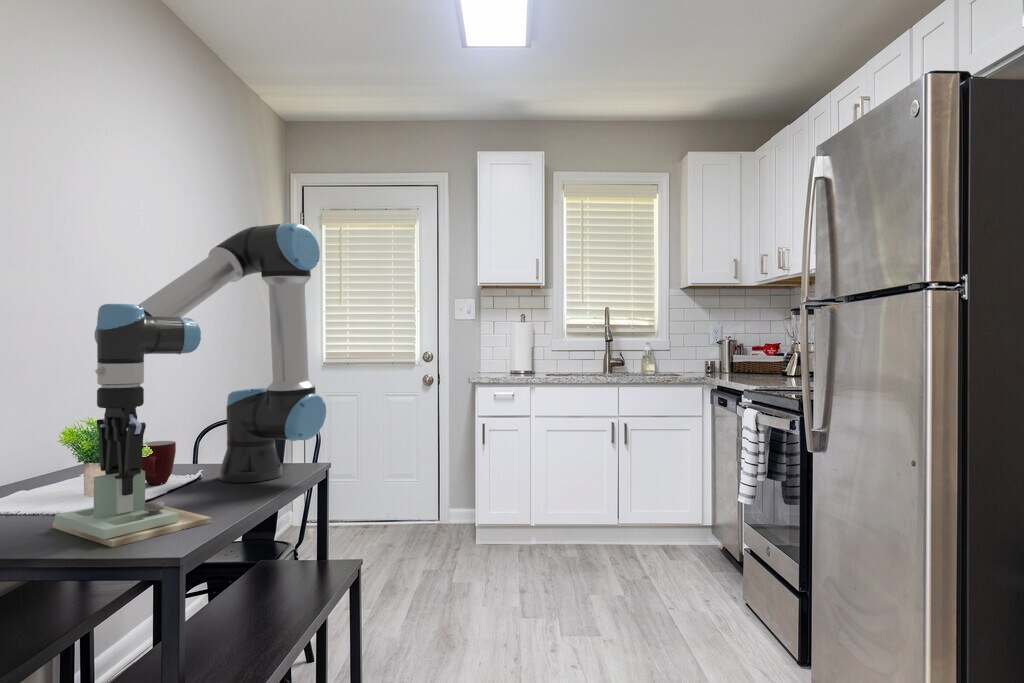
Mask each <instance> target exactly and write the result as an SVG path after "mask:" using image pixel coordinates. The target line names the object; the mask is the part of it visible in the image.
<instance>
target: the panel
mask: <svg viewBox="0 0 1024 683" xmlns="http://www.w3.org/2000/svg"><path fill="white" fill-rule="evenodd" d="M118 475H119V473H115V474H109V475H106V474H103V475H97V476H93V506H92V507H88V508H86V507H85V508H82V509H77V510H71V511H68V512H67V511H66V512H61V513H58V514H57V513H56V514H54V522H55V524H58V525H62V526H65V527H68V528H71V529H74V530H77V531H80V532H83V533H86V534H89V535H93V536H96V537H99V538H102V539H108V538H113V537H117V536H121V535H125V534H129V533H133V532H137V531H142V530H146V529H150V528H154V527H158V526H162V525H167V524H171V523H175V522H179V513H176V512H172V511H168V510H164V509H162V510H160V514H158V515H154V516H149V511H145V510H144V504H145V503H146V480H145V471H142V470H141V473H140V474H137V475H135V476H134V477H133V511H130V512H125V513H120V514H116V479H115V476H118Z"/></svg>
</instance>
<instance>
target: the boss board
mask: <svg viewBox="0 0 1024 683" xmlns="http://www.w3.org/2000/svg"><path fill="white" fill-rule="evenodd" d="M162 509H164V510H168V511H172V512H176V513H179V522H175V523H171V524H167V525H162V526H158V527H154V528H150V529H146V530H142V531H137V532H133V533H129V534H125V535H121V536H117V537H113V538H108V539H102V538H99V537H96V536H93V535H89V534H86V533H83V532H80V531H77V530H74V529H71V528H68V527H65V526H62V525H58V524H55V521H53V522H52V528H53V529H56V530H59V531H62V532H63V533H64V532H65V533H68V534H71V535H74V536H76V537H80V538H83V539H87V540H89V541H91V542H95V543H98V544H100V545H101V544H102V545H104V546H107V547H110V548H115V547H119V546H124V545H127V544H131V543H136V542H139V541H143V540H147V539H151V538H156V537H160V536H163V535H167V534H172V533H175V532H179V531H183V529H184V530H188V529H191V528H196V527H199V526H203V525H207V524H211V523H212V517H210V516H206V515H202V514H198V513H194V512H191V511H186V510H183V509H178V508H174V507H169V506H166V505H165V502H164V501H152V502H145V504H144V510H145V511H149V516H154V515H158V514H160V510H162ZM187 528H188V529H187Z"/></svg>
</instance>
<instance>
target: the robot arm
mask: <svg viewBox="0 0 1024 683" xmlns="http://www.w3.org/2000/svg"><path fill="white" fill-rule="evenodd" d="M320 257H321V249H320V245H319V242H318V240H317V238H316V236H315V234H314V233H313V232H312V231H311V230H310V228H308V227H307V226H306V225H303V224H302V223H298V222H294V223H292V222H286V223H285V222H283V223H276V224H267V225H256V226H255V225H254V226H250V227H248V228H247V227H246V228H245V229H243V230H241V231H238V232H236V233H235V234H233V235H232V236H230V237H228V238H227V239H224V240H223V241H222V242H220V243H219V244H218V245H216V246H214V247H212V249H210V251H209V253H208V256H207V257H206V258H204V259H203V260H201V261H200V262H199V263H197V264H195V265H194V266H193V267H191V268H190V269H189V270H187V271H186V272H183V274H181V275H180V276H178V277H177V278H175V279H174V280H172V281H171V282H170V283H168V284H166V285H165V286H164V287H162V288H160V290H158V291H156V292H155V293H154V294H152V295H150V296H149V297H148V298H146V299H145V300H143V301H142V302H140V303H139V304H131V303H105V304H102V305H100V306H99V308H98V311H97V316H96V317H97V318H96V320H97V321H96V326H95V327H96V328H95V329H94V330H95V331H94V340H95V343H96V344H97V346H96V347H97V349H96V351H97V352H96V354H97V355H96V357H97V358H96V359H97V366H96V367H97V368H96V369H95V371H94V372H95V374H97V378H96V379H97V380H96V381H97V385H99V386H100V387H98V389H96V406H97V407H98V408H100V409H105V411H104V418H100V419H96V422H95V423H96V428H97V433H98V449H99V464H100V466H99V468H100V471H101V472H104V473H105V474H104V475H109V474H115V473H119V475H118V476H115V479H116V514H120V513H125V512H130V511H133V477H134V476H135V475H137V474H140V473H141V464H142V449H143V443H144V436H145V431H146V427H147V425H146V422H144V421H143V422H139V420H138V414H137V407H141V406H143V405H144V403H145V402H144V401H145V398H144V396H145V391H144V390H145V388H143V386H141V385H142V384H144V382H145V355H153V354H154V355H165V354H166V355H169V354H170V355H172V354H173V355H175V354H176V355H182V354H190V353H193V352H194V351H196V350H197V349H198V348H199V346H200V343H201V339H202V337H201V336H202V330H201V328H200V326H199V324H198V322H197V321H196V320H195V319H192V318H189V317H188V318H187V317H184V316H185V315H187V314H188V313H189V312H191V311H192V310H193V309H195V308H196V307H197V306H200V304H201V303H203V302H204V301H206V300H207V299H208V298H210V297H211V296H212V295H214V294H215V293H217V292H218V291H219V290H220V289H223V287H224V286H226V285H228V284H229V283H230V282H231V283H236V282H239V281H241V279H243V278H244V277H246V276H249V275H252V274H257V273H260V274H261V280H263V281H264V282H265V283H266V284H267V286H268V302H269V303H268V304H269V322H270V324H269V325H270V345H271V346H270V347H271V348H270V349H271V367H272V368H271V370H272V381H271V383H270V384H269V385H268V386H265V387H257V388H248V389H238V390H234V391H233V390H232V391H231V392H230V393H228V395H227V402H226V451H225V453H224V456H223V459H222V463H221V466H220V468H219V474H218V475H219V480H220V481H222V482H224V483H226V482H227V483H236V484H237V483H239V484H240V483H255V482H264V481H271V480H274V479H278V478H280V477H281V476H282V475H283V467H282V464H281V460H280V456H279V454H278V451H277V448H276V440H288V441H292V442H296V441H308V440H310V439H313V438H314V437H315V436H317V435H318V433H319V432H320V430H321V429H322V428H323V426H324V423H325V422H326V421H325V420H326V417H327V405H326V404H327V403H326V402H325V401H324V399H323V397H322V396H320V395H318V394H317V393H316V385H315V383H314V382H312V381H311V380H310V378H309V377H310V376H309V356H308V354H309V353H308V333H307V332H308V330H307V329H308V328H307V327H308V326H307V307H306V306H307V304H306V283H308V282H309V281H310V280H311V279H312V278H311V277H312V275H311V273H312V272H311V271H312V270H313V269H314V268H316V267H317V266H318V263H319V262H320Z"/></svg>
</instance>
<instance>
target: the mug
mask: <svg viewBox="0 0 1024 683" xmlns="http://www.w3.org/2000/svg"><path fill="white" fill-rule="evenodd" d="M143 444H146V445H147V446H148V447H150V449H152V451H153V453H152V454H150V455H149V456H147V457H142V464H141V470H142V471H145V483H147V485H149V484H160V485H162V484H161V483H164V484H166V483H167V482H168V480H169V478H170V477H171V475H172V472H173V468H174V463H175V459H176V458H175V457H176V452H177V450H176V448H177V447H176V446H177V444H176V441H173V440H158V441H157V440H156V441H146V442H143ZM143 447H146V446H143ZM165 482H166V483H165Z"/></svg>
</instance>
